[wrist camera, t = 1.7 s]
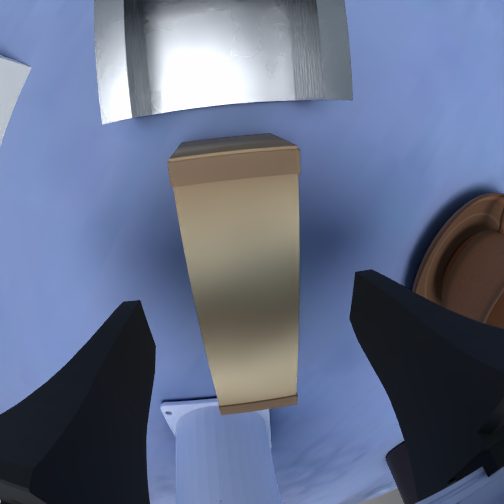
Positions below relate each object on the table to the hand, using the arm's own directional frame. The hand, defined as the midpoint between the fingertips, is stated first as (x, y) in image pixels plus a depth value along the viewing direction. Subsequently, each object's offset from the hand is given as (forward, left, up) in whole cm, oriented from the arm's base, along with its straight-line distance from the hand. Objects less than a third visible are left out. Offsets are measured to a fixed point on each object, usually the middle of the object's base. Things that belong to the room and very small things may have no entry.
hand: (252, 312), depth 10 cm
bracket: (+10, 0, -6) cm, 12 cm away
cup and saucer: (-4, -16, -6) cm, 18 cm away
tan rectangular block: (-2, 0, -6) cm, 6 cm away
